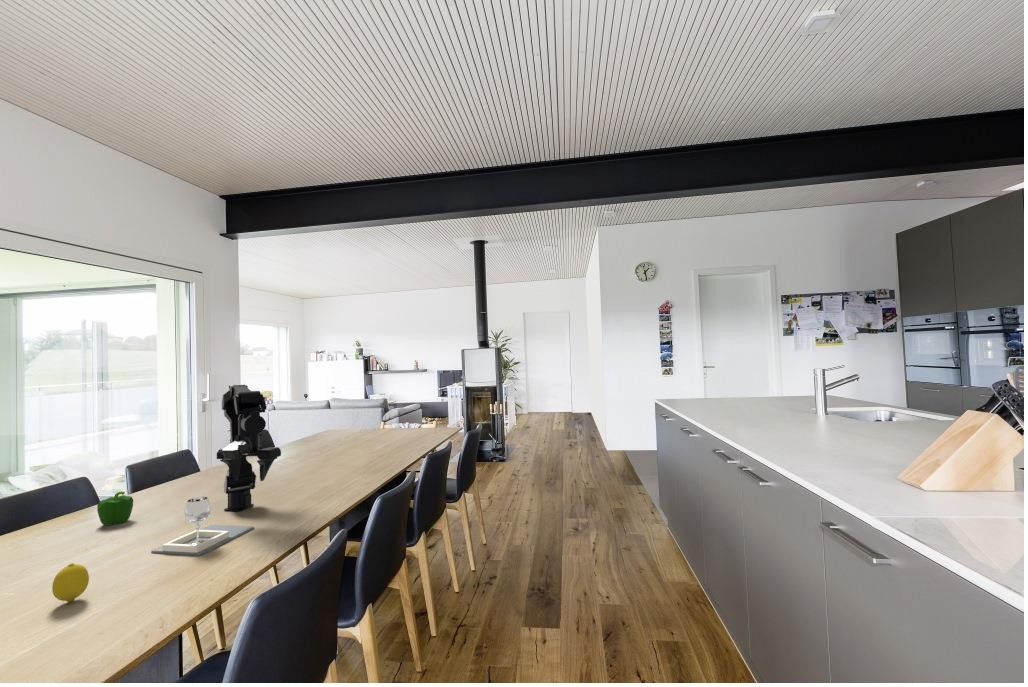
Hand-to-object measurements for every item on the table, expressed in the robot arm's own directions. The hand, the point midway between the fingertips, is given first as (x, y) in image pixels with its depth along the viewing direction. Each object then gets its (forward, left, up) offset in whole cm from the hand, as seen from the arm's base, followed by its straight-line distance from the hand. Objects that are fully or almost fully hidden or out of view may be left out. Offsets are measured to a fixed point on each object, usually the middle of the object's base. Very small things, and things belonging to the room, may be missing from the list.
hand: (249, 480), depth 141 cm
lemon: (-3, -47, -13) cm, 49 cm away
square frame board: (-2, -14, -13) cm, 19 cm away
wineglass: (-1, -18, -13) cm, 22 cm away
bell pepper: (-44, -5, -13) cm, 46 cm away
